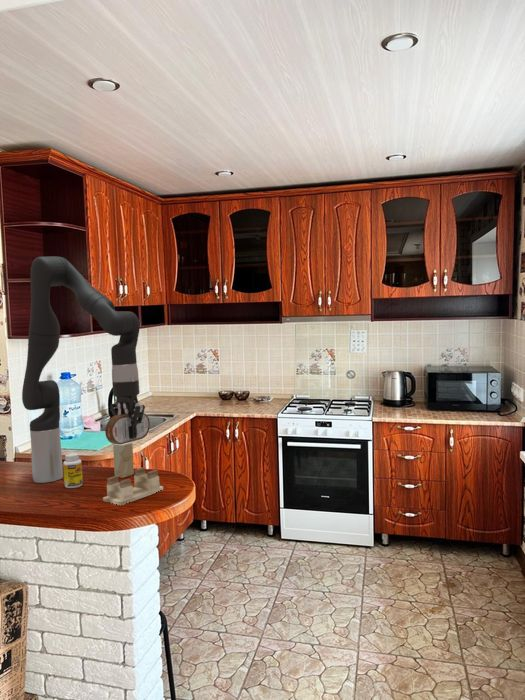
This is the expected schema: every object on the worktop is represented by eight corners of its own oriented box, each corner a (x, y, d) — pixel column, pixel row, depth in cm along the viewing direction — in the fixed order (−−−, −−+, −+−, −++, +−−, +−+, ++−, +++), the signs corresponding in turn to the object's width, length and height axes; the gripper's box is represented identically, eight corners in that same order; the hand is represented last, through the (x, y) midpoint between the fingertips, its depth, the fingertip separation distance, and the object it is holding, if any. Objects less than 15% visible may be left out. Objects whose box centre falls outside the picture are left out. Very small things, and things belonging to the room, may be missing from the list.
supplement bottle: (67, 490, 166) (64, 457, 165) (62, 485, 170) (60, 454, 170) (85, 486, 169) (83, 454, 168) (80, 482, 173) (78, 451, 173)
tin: (145, 436, 163) (143, 409, 163) (152, 436, 161) (150, 409, 161) (105, 446, 151) (103, 417, 150) (112, 447, 149) (110, 417, 149)
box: (123, 478, 176) (121, 445, 175) (114, 476, 178) (112, 444, 177) (134, 473, 180) (132, 441, 180) (125, 472, 182) (123, 440, 182)
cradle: (103, 500, 154) (101, 479, 153) (146, 485, 166) (145, 466, 166) (120, 505, 149) (119, 483, 148) (163, 489, 161) (162, 469, 161)
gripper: (100, 380, 157) (104, 438, 157) (130, 381, 148) (134, 442, 149) (121, 377, 162) (125, 433, 163) (151, 378, 154) (154, 437, 155)
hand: (129, 437), depth 156 cm, fingers closed on tin, 2 cm apart
